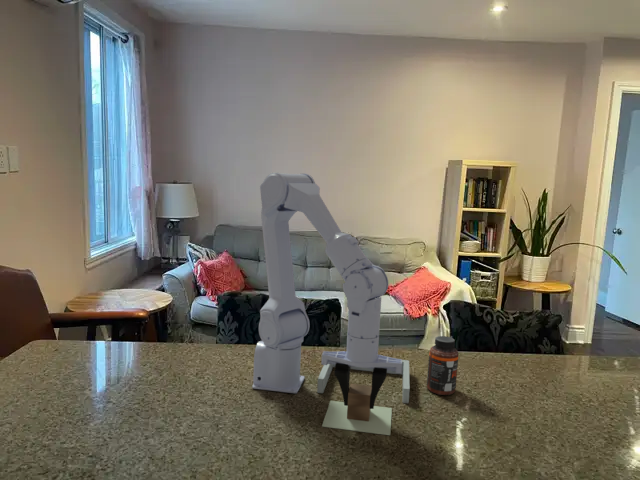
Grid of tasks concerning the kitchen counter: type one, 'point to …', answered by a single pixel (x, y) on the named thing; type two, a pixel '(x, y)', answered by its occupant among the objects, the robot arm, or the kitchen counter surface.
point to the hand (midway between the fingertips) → (359, 404)
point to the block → (359, 402)
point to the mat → (376, 424)
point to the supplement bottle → (442, 366)
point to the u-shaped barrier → (328, 368)
